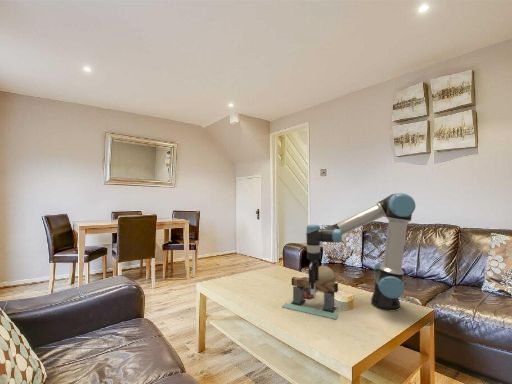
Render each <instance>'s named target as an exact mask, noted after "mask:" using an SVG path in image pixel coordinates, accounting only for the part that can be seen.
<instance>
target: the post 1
mask: <svg viewBox="0 0 512 384" xmlns="http://www.w3.org/2000/svg"><path fill="white" fill-rule="evenodd" d="M292 295H293V296H292V302H291V303H290V304H294V305H298V306H303V305H304V304H305V303H306V301H307V300H306V299H305V298H304V287H299V286H293V287H292Z"/></svg>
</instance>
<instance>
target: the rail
mask: <svg viewBox="0 0 512 384" xmlns="http://www.w3.org/2000/svg"><path fill="white" fill-rule="evenodd" d="M338 285H339V283H338V282H335V283H332V282H325V281H318V280H315V288H316V289H317V290H319V291H323V292H327V291H330V292H334V293H338V291H339V286H338ZM291 286H293V287H294V286H295V287H297V286H299V287H305V288H310V283H309V279H305V278H302V277H297V276H296V277H295V276H293V277H291Z"/></svg>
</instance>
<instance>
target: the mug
mask: <svg viewBox="0 0 512 384" xmlns="http://www.w3.org/2000/svg"><path fill="white" fill-rule="evenodd" d="M301 278H305V279H309V276H305V277H301ZM313 297H315V295H313V294H311V291H310V288H305V287H304V299H305V298H306V299H310V298H311V299H312V298H313Z"/></svg>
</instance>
